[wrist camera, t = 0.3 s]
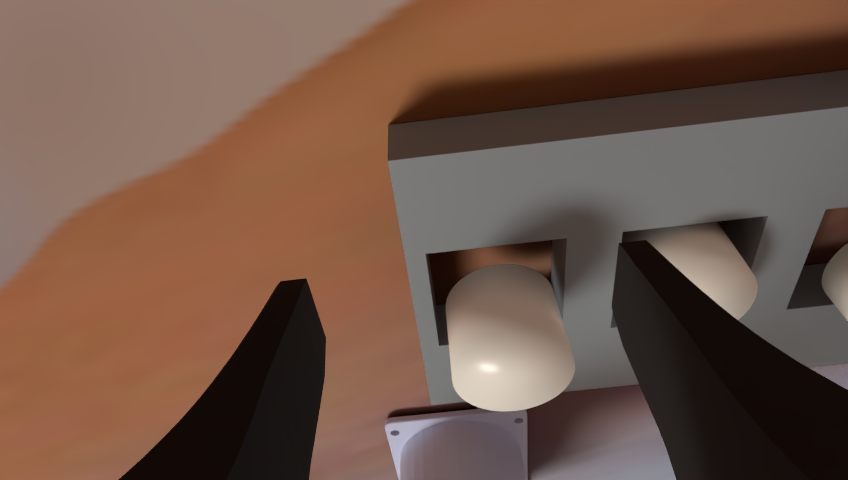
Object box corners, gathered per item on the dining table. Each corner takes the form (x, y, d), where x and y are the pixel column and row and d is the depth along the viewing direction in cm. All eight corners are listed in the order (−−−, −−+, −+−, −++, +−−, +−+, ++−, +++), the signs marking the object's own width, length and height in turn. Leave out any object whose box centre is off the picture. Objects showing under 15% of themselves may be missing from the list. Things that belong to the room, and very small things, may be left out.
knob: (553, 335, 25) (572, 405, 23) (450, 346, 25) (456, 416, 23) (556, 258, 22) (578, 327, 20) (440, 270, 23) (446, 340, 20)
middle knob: (708, 276, 27) (743, 334, 24) (610, 286, 27) (634, 345, 24) (728, 197, 24) (770, 253, 21) (619, 209, 24) (647, 266, 22)
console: (862, 319, 30) (894, 358, 28) (428, 364, 31) (431, 405, 29) (1003, 50, 21) (1064, 81, 19) (388, 125, 22) (387, 161, 20)
